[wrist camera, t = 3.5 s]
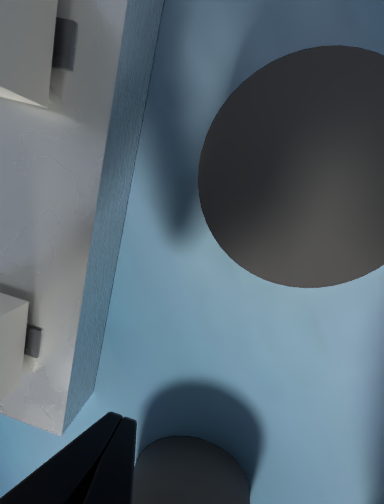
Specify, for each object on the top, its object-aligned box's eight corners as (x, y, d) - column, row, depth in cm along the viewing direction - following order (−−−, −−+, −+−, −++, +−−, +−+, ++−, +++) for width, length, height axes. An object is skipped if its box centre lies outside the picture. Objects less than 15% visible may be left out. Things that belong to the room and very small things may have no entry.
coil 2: (409, 114, 9) (497, 73, 6) (340, 279, 10) (382, 313, 7) (233, 77, 9) (231, 23, 6) (192, 238, 11) (176, 255, 8)
